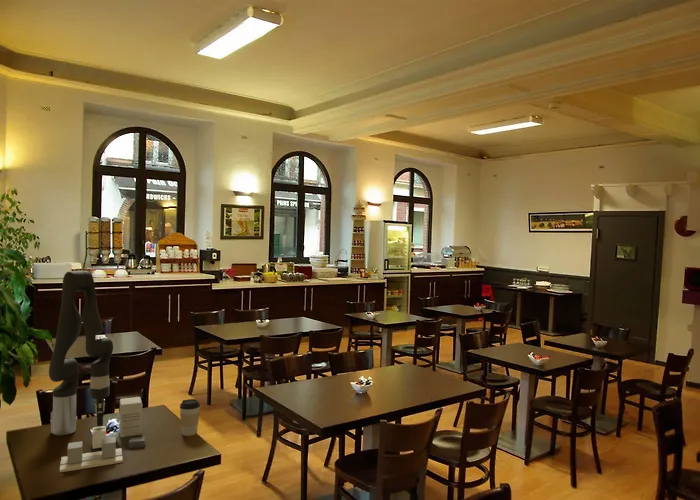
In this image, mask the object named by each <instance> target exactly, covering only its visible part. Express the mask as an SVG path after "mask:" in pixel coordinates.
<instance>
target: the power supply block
mask: <svg viewBox="0 0 700 500" xmlns="http://www.w3.org/2000/svg"><path fill="white" fill-rule="evenodd" d="M145 445H146V437H145V436H142V437H139V436H138V437H131V438H129V440H128V449H134V448H135V449H136V448H145Z"/></svg>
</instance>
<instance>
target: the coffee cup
mask: <svg viewBox="0 0 700 500" xmlns="http://www.w3.org/2000/svg"><path fill="white" fill-rule="evenodd" d="M200 408H201V404H200V402H199V401H198V400H197V399H193V398H190V399H189V398H188V399H183V400H182V402H181V403H180V405H179V413H180V415H179V417H180V426H181V428H180V429H181V435H183V436H185V437H187V436H188V437H189V436H194V435H196V434H197V433H198V428H199V427H198V425H199V419H200V412H201V411H200ZM195 433H196V434H195Z"/></svg>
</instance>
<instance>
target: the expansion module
mask: <svg viewBox="0 0 700 500" xmlns="http://www.w3.org/2000/svg"><path fill="white" fill-rule="evenodd" d="M106 433H107V427H106V425H103V426H100V427H97V426H93V427H92V449H99V448H101V449H102V438H107V434H106Z"/></svg>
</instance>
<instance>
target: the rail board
mask: <svg viewBox="0 0 700 500" xmlns="http://www.w3.org/2000/svg"><path fill="white" fill-rule="evenodd" d="M83 443H84V442H83V441H74V442H73V441H72V442H68V444H67V456H66V455H65V456H61V457H60V459H61V460H60V464H59V473H64V472H71V471H77V470H83V469H89V468H94V467H103V466H107V465H113V464H120V463H123V461H124V460H123V458H124V457H123V451H122V450H123V449H122V447H119V448H117V444H116V443H117V441H116V436H112V437H111V436H110V437H106V438H102V447H101V451H94V452H93V451H92V452H86V453H83V447H84V446H83Z"/></svg>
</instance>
